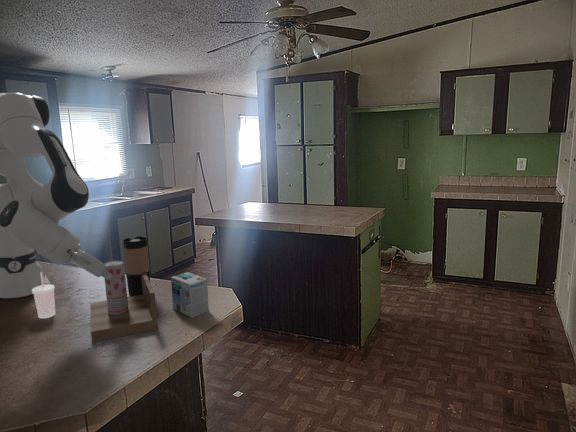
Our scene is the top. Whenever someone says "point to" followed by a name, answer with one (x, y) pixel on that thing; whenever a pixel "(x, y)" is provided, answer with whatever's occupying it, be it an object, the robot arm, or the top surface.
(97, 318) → the walnut shelf stand
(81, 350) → the top surface
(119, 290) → the beverage can
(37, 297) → the beverage cup
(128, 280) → the travel mug
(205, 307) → the light bulb box
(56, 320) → the top surface
